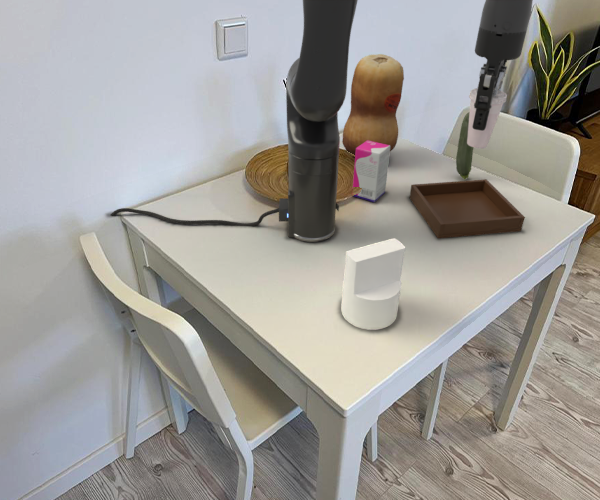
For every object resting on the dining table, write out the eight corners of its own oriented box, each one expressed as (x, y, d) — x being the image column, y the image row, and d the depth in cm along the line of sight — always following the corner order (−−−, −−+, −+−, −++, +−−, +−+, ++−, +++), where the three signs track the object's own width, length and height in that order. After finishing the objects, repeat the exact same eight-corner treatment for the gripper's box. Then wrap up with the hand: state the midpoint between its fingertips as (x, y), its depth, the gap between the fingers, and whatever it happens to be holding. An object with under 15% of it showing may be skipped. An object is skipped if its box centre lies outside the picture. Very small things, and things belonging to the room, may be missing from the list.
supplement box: (386, 192, 115) (391, 144, 109) (374, 203, 111) (379, 154, 105) (363, 185, 118) (367, 138, 111) (351, 196, 114) (354, 148, 107)
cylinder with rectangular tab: (359, 336, 78) (365, 274, 71) (331, 301, 84) (334, 241, 78) (408, 319, 81) (418, 258, 74) (377, 287, 88) (384, 228, 81)
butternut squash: (369, 175, 122) (379, 68, 108) (330, 157, 131) (335, 55, 116) (406, 159, 130) (421, 57, 116) (368, 143, 138) (376, 46, 124)
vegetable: (450, 179, 121) (466, 95, 110) (452, 171, 124) (469, 89, 113) (469, 182, 120) (488, 98, 108) (471, 175, 123) (490, 92, 112)
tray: (437, 238, 100) (440, 224, 98) (409, 197, 114) (411, 184, 112) (520, 231, 103) (525, 217, 101) (483, 192, 116) (486, 179, 114)
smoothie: (496, 152, 93) (515, 74, 85) (460, 149, 94) (476, 71, 86) (493, 139, 98) (511, 64, 90) (458, 136, 100) (473, 62, 92)
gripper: (487, 15, 91) (468, 107, 101) (472, 31, 80) (453, 132, 90) (531, 20, 88) (508, 114, 98) (522, 37, 78) (497, 140, 87)
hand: (481, 122), depth 94 cm, fingers closed on smoothie, 6 cm apart
